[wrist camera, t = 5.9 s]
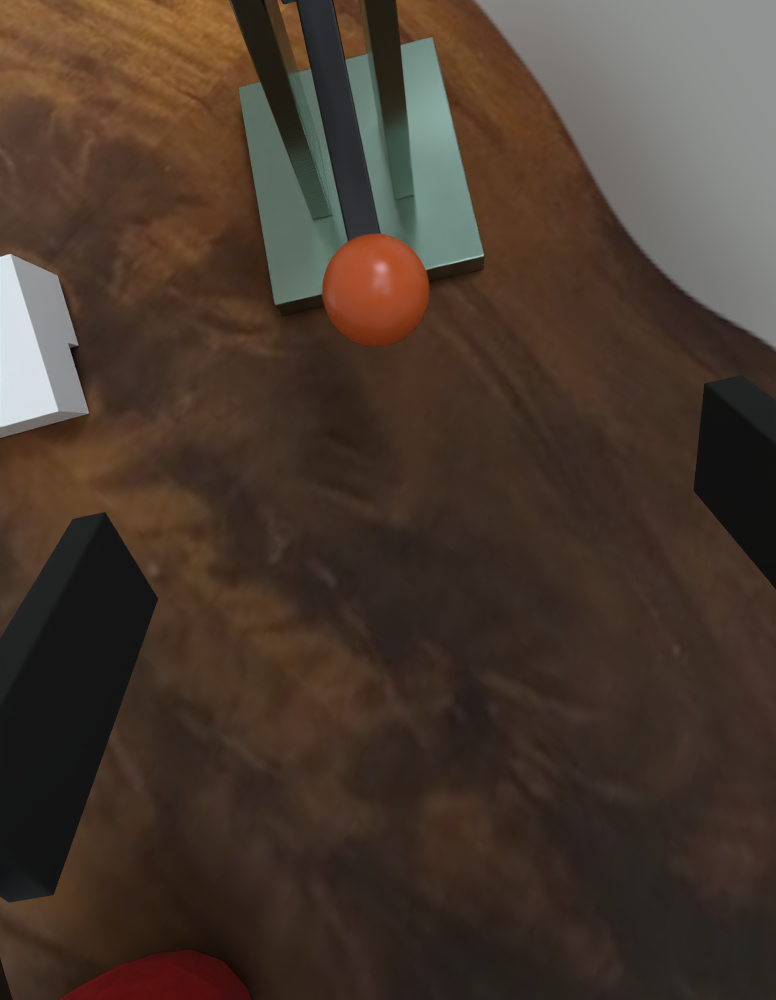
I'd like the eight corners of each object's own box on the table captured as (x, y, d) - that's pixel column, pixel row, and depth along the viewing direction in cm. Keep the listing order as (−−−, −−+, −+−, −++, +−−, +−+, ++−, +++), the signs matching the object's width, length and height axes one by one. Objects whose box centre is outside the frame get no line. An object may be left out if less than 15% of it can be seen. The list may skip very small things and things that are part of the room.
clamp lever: (436, 338, 22) (441, 329, 19) (341, 359, 23) (328, 355, 19) (351, -101, 20) (338, -206, 16) (245, -71, 20) (210, -167, 17)
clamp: (483, 269, 29) (510, -18, 15) (281, 316, 30) (135, 82, 16) (433, 56, 31) (418, -365, 17) (245, 105, 32) (88, -261, 18)
